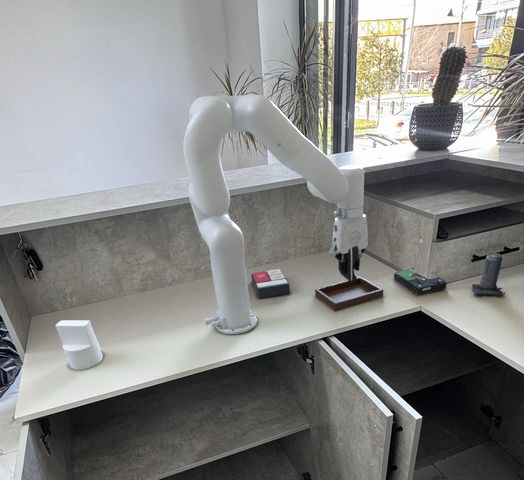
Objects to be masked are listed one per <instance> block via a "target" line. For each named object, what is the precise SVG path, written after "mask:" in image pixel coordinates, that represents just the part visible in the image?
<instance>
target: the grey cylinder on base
mask: <svg viewBox="0 0 524 480" xmlns="http://www.w3.org/2000/svg"><path fill="white" fill-rule="evenodd" d="M502 264H503V256H502V254H500V253H497V252H491V253H488V254H487V256H486V257H485V261H484V265H483V269H482V273H481V278H480V282H479V284H477V283H472V284H471V289H472V293H473V295H474V296H476V297H477V296H483V295H486V296H489V297H492V296H496V297H501V296H502V295H503V296H504V295H506V291H504V292H503V291H502V290H503V288H502V287H498V285H497V282H498V279H499V274H500V271H501V266H502Z"/></svg>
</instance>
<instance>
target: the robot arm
mask: <svg viewBox="0 0 524 480" xmlns="http://www.w3.org/2000/svg"><path fill="white" fill-rule="evenodd" d="M188 113H189V114H188V115H189V122H188V123H187V127H186V129H185V133H184V136H183V141H182V142H183V145H182V148H183V157H184V162H185V165H186V170H187V172H188V178H189V181H190V183H189V186H188V191H187V192H188V198H189V202H190V206H191V209H192V213H193V215H194V218H195V222H196V224H197V228H198V231H199V234H200V237H201V238H202V240H203V241H204V242H205V244H206V246H207V247H208V249H209V257H210V267H211V269H210V270H211V276H212V281H213V287H214V293H215V299H216V304H217V310H216V311H215V314H214V315H213V316H211V317H206V318H203V323H204V325H205V326H209V325H210V326H211V328H213V327H215V328H216V330H217V331H218V332H220V333H222V334H225V335H238V334H243V333H247V332H249V331H250V330H253V328H255V327H256V326H257V323H258V319H257V316H256V315H255V314H253V313H252V312H251V305H250V303H251V302H250V295H249V285H248V278H247V270H246V260H245V251H246V250H245V249H246V248H245V245H246V244H245V238H244V234H243V232H242V230H241V228H240V227H239V226H238V225H237V224H236V223H235V222H234V221H233V220H232V219H231V218H230V214H229V209H230V206H231V195H230V191H229V188H228V185H227V181H226V176H225V173H224V169H223V166H222V160H221V154H220V147H221V142H222V140H223V138H224V136H226V134H231V133H232V134H233V133H246V132H247V133H250V134H251V135H252V136H253V137H254V138H255V139H256V140H257V141H258V142H259V143H260V144H262V146H264V147H265V148H266V149H267V151H268V152H270V153H271V155H273V157H275V159H276V160H277V161H279V163H281V164H282V165H284V167H285V168H287V169H289V170H290V171H293V172H294V173H296V174H298V175H299V176H301V177H302V178H304V180H306V181H307V183H306V186H307V189H308V191H309V193H311V194H312V195H313V196H315V197H317V198H319V199H320V200H323V201H325V202H327V203H330V204H336V210H335V211H333V213H332V215H333V216H334V217H335V218H334V222H333V229H332V241H331V242H332V243H331V244H332V245H331V247H330V249H329V251H328V255H330V256H331V257H333V258H335V259H336V260H337V261H338V272H339V273H340V272H341V273H343V274H346V266H347V264H346V262H345V257H346V253H348V250H349V249H350V248H352V247H354V246H358V249H359V260H358V261H356V263H355V264H354V271H360V266H361V258H362V257H363V254H364V252H365V251H366V250H367V248H369V247H370V246H371V243H370V242H369V231H368V228H369V227H368V222H367V215H366V214H364V201H365V200H364V199H365V198H364V197H365V196H364V195H365V169H364V168H363V167H362V166H360V165H345V166H342V167H338V166H337V165H336V164H335V163H334V161H332V160H331V159H330V158H329V157H328V156H327V155H326V154H325V153H324V152H323V151H322V150H321V149H319V148H318V147H317V146H315V144H314V143H313V142H312V141H311V140H310V139H308V138H307V137H306V136H305V135H303V133H302V132H300V130H299V129H298V128H297V127H296V126H295V125H294V124H293V122H291V121H290V119H289V118H288V117H287V116H286V115H285V114H284V113H283V112H282V111H281V110H280V109H279V108H278V107H277V105H276V104H275V103H274V102H273V101H272V100H271V99H270V98H269V97H267V96H265V95H263V94H239V95H203V96H200V97H197V98H196V99H195V100H194V101H193V102H192V103H191V106H190V108H189V112H188ZM336 252H337V253H336Z"/></svg>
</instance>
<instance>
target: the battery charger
mask: <svg viewBox="0 0 524 480" xmlns="http://www.w3.org/2000/svg"><path fill="white" fill-rule="evenodd" d="M358 260H359V249H358V246H354V247H352V248H350V249H349V250H348V253H346V257H345V262H346V264H347V266H346V274H343V273H341V272H340V271H339V274H340V275H342V277H343V278H345V279H346V280H349V281H351V280H354V279H356V278H357V277H358V276H357V274H355V269H354V264H355V263H356V261H358Z"/></svg>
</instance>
